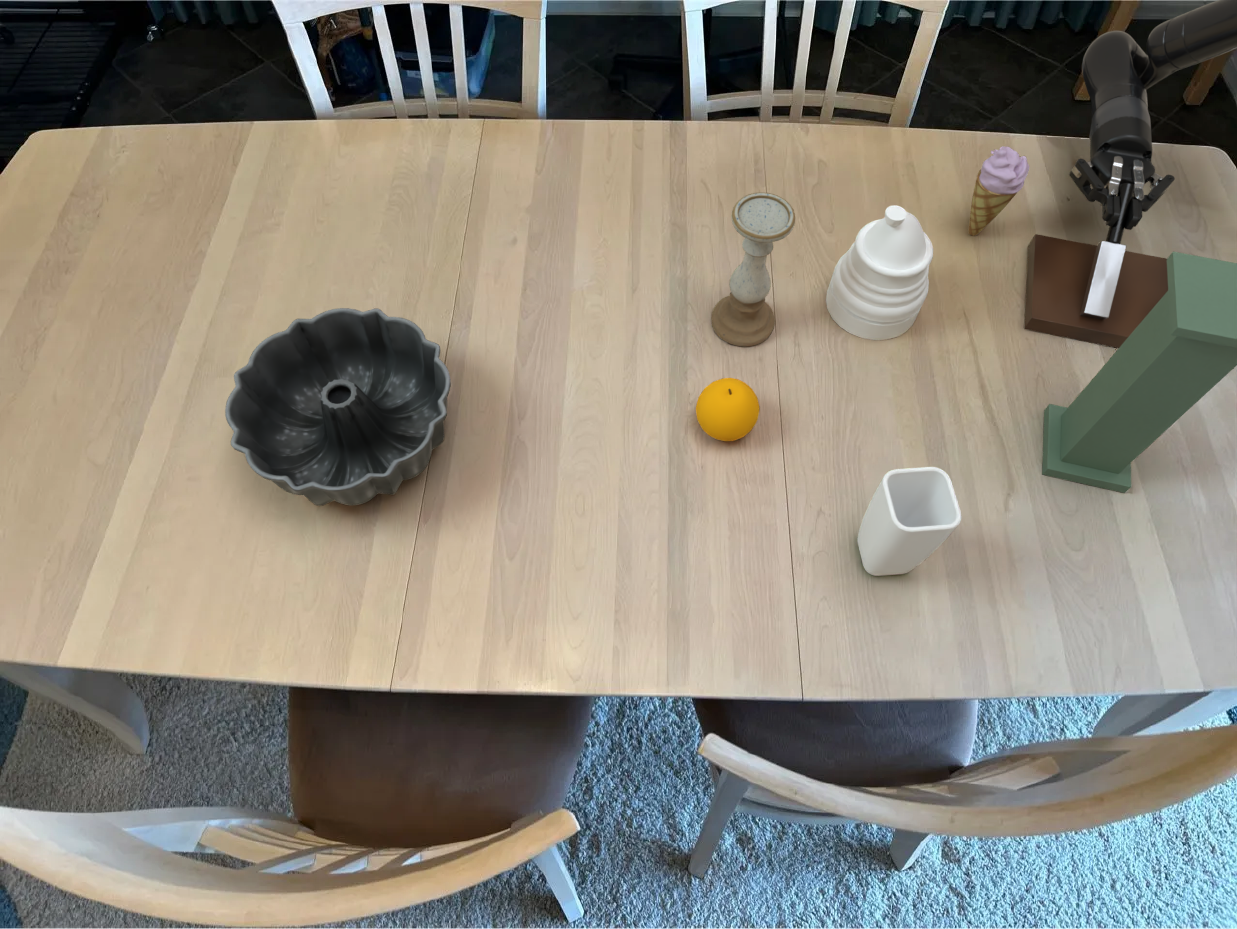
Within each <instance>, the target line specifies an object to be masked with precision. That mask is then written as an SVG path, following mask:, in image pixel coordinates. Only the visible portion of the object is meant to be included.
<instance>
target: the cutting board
mask: <svg viewBox="0 0 1237 929" xmlns="http://www.w3.org/2000/svg"><path fill="white" fill-rule="evenodd" d="M1097 245H1098V244H1097ZM1097 245H1096V244H1091V243H1085V242H1080V241H1075V240H1070V239H1063V238H1060V237H1053V236H1048V235H1043V234H1038V233H1035V234H1034V235H1033V237H1032V239H1031V241H1030V242H1029V243H1028V246H1027V262H1026V263H1027V264H1026V284H1025V302H1024V303H1025V306H1024V326H1023V328H1024V330H1027V331H1032V332H1036V333H1042V334H1047V335H1052V336H1057V337H1063V338H1067V339H1071V340H1076V341H1080V342H1081V341H1082V342H1086V343H1091V344H1096V345H1101V346H1106V347H1112V348H1115V349H1119V347H1120V346H1121V345H1122V344H1123V343H1124V342H1125V340H1126V339H1127V338H1128V337H1129V336H1130V335H1131V333H1132V332H1133V331H1134V330H1135V329H1136V327H1137V326H1138V325H1139V324H1140V323H1141V322H1142V320H1143V319H1144V318H1145V317H1146V316H1147V315H1148V313H1149V312H1150V311H1151V310H1152V309H1153V308H1154V306H1155V305H1156V304H1157V303H1158V302H1159V301H1160V299H1161V298H1162V297H1163V296H1164V295H1165V294H1166V292H1167V291H1168V275H1167V258H1166V257H1160V256H1155V255H1151V254H1146V253H1145V254H1144V253H1139V252H1134V251H1129V250H1125V254H1124V258H1123V262H1122V266H1121V270H1120V274H1119V278H1118V282H1117V286H1116V290H1115V294H1114V298H1113V302H1112V306H1111V310H1110V314H1109V318H1107V319H1104V320H1103V319H1098V318H1093V317H1088V316H1083V315H1080V313H1081V309H1082V305H1083V301H1084V297H1085V293H1086V289H1087V285H1088V281H1089V277H1090V273H1091V269H1092V265H1093V261H1094V257H1095V253H1096V249H1097Z"/></svg>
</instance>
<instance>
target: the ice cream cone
mask: <svg viewBox="0 0 1237 929" xmlns="http://www.w3.org/2000/svg"><path fill="white" fill-rule="evenodd" d="M990 154H991V155H990V156H989V157H988V158H987V159H985V160H983V162H982V165H981V168H980V169H979V170H978V172H977V175H976V179H975V184H974V188H973V192H972V198H971V205H970V212H969V222H968V229H967V230H968V231H967V233H968V235H970V236H972V237H975V236H978V234H980V233H981V231H983V230H984V229H985V228H986V227H987V226H988V225H989V224H990V223H991V222H992V221H993V220H994V219H995V218H996V217H997V216H998V215H999V214H1000V213H1001V212H1002V211H1003V210H1004V209H1005V208H1006V207H1007V206H1008V205H1009V203H1010V202H1011V201H1012V200H1013V198H1014V197H1015V196H1016V195H1017V194H1018V193H1019V192H1020V191H1021V190H1022V189H1023V187H1024V185H1025V180H1026V178H1027V177H1028V174H1029V171H1030V165H1029V162H1028V158H1027V156H1026V155H1022V156H1020V154H1019V153H1018V151H1017V150H1015V149H1013V148H1012V147H1010V146H1005V145H1004V146H1003V145H1002V146H1000V147H999V149H995V148H994V149H993V150H990Z"/></svg>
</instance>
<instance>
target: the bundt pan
mask: <svg viewBox="0 0 1237 929" xmlns="http://www.w3.org/2000/svg"><path fill="white" fill-rule="evenodd" d="M440 357H441V346H440V344H439V343H437V342H435V341H431V340H428V339H427V338H426V335H425V332H424V331H423V330H422V328H421V327H419V325H418V324H416V323H415V322H413V321H411V320H410V319H407V318H404V317H400V316H388V315H387V314H386V313H385V312H384V311H382V310H381V309H380V308H379V307H375V308H371V309H369V310H365V311H361V310H358V309H355V308H350V307H339V308H338V307H337V308H332V309H328V310H325V311H322V312H320V313H318V314H316V315H315V316H313V317H312V318H296V319H294V320H293V321H292V322H291V323H290V324H289V326H288V327H287V329H285V330H282V331H278V332H275V333H273V334H272V335H269V336H268V337H266V338H265V339H264V340H262V341H261V342H259V344H257V346H256V347H255V348H254V350H253V351H252V352H251V355H250V356H249V359H248V362H247V364H246V365H244V366H243V367H241V368H239V369H238V370H236V371H235V372H234V374H233V380H234V385H235V387H234V388H233V389H232V391H231V392H230V394H229V396H228V398H227V400H226V403H225V408H224V416H225V419H226V422H227V424H228V426H229V427H230V429H231V430H232V431H233V433H232V436H231V440H230V446H231V447H232V448H233V449H234V451H237V452H240V453H242V454H244V457H245V460H246V463H247V464H248V465H249V467H250V468H251V469H252V471H253V472H254V473H255V474H257V475H258V476H260V477H261V478H263V479H265V480H267V481H271V482H272V483H273V484H275V485H276V486H277V487H279V488H280V489H281V490H282V491H285V492H286V493H289V494H292V495H296V496H304V497H305V498H306V499H307V500H308V501H310V502H311V503H312V504H313V505H315V506H318V507H322V506H325V505H327V504H330V503H331V502H336V503H338V504H340V505H341V504H342V505H346V506H359V505H363V504H366V503H368V502H369V501H371V500H372V499H374V498H375V497H376V496H377V495H378V494H382V495H383V494H384V495H391V496H392V495H396V493H397V491H398V490H399V487H400V486H401V485H402V482H403V481H406V480H407V481H408V480H411V479H414V478H415V477H417V476H419V475H420V474H422V473H423V471H424V470H425V469H426V468H427V467H428V465H429V462H430V460H431V457H432V452H433V450H435V449H436V448H438V447H439V446H441V445H442V444H443V442H444V441H445V420H446V418H447V416H448V396H449V393H450V390H451V384H452V383H451V382H452V381H451V375H450V371H449V369H448V367H447V366H446V364H445V363H444V362H443V361H442V360H441V359H440Z"/></svg>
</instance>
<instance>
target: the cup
mask: <svg viewBox="0 0 1237 929" xmlns="http://www.w3.org/2000/svg"><path fill="white" fill-rule="evenodd" d="M956 494H957V493H956V491H955V488H954V485H953V482H952V479H951V477H950V476H949V474H948V472H946V471H945V470H943V469H942V468H940V467H937V466H922V467H921V466H920V467H908V468H895V469H891V470H889V471H887V472H886V473H885V474H884V475H883V477H882V479H881V481H880V482H879V484H878V485H877V487H876V490H875V491H874V493H873V495H872V497H871V499H870V501H869V503H868V506H867V507H866V511H865V512H864V514H863V517H862V520H861V524H860V526H859V529H858V534H857V539H856V540H857V546H858V549H859V554H860V558H861V563H862V566H863V568H864V570H865V571H866V573H867V574H869V575H871V576H876V577H880V576H881V577H882V576H892V575H893V576H894V575H904V574H908V573H909V572H911V571H912V570H914V569H915V568H917V567H918V566H920V565H921V564H922V563H923V562H924V561H925V560H927V559H928V558H930V556H931V555H933V553H934V552H935V551H937V550H938V548H940V547H941V546H942V544H943V543H945V541H946V540H947V539H948V538H949V537H950V536H951V535H952V533H953V532H955V530H956V529H957V527H958V526H959V525H960V523H961V521H962V511H961V507H960V505H959V501H958V497H957V495H956Z"/></svg>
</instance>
